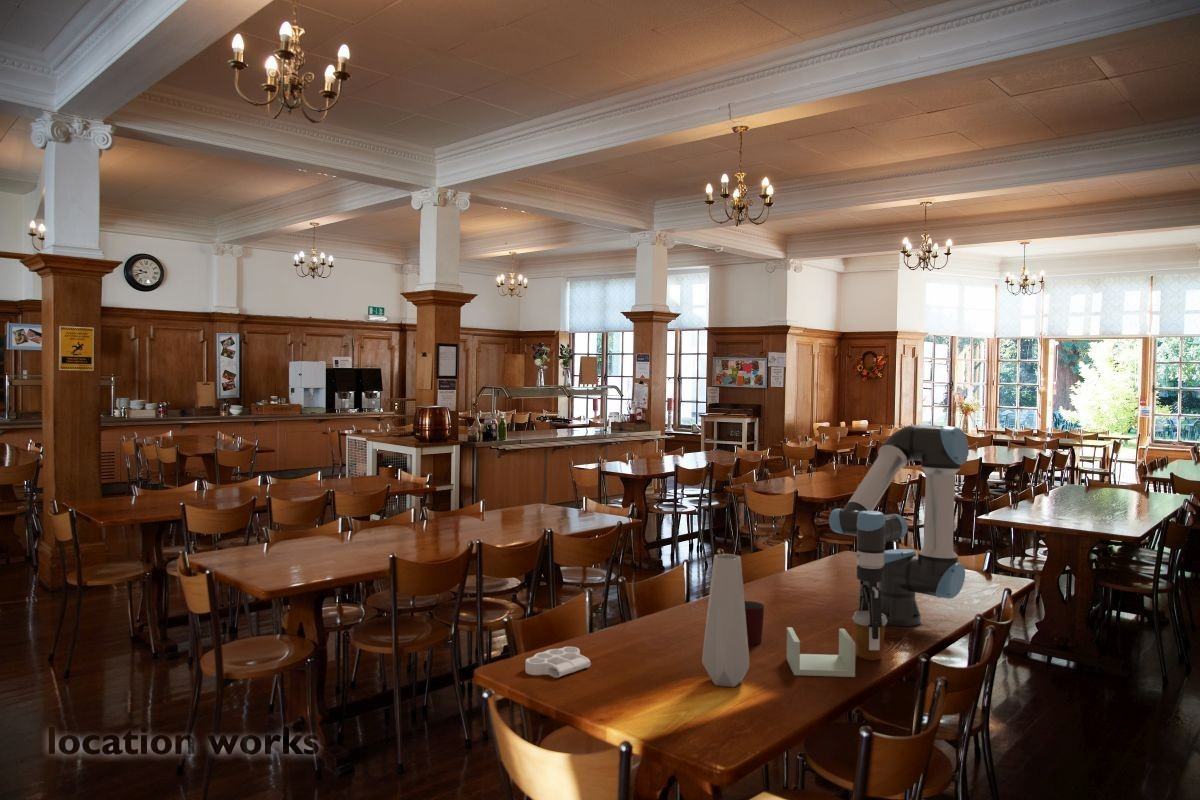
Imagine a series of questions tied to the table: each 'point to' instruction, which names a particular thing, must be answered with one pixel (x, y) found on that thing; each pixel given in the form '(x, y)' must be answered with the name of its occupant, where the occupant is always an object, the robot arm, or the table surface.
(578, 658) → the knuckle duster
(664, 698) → the table surface
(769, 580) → the table surface
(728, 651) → the vase
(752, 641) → the mug
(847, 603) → the table surface
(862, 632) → the disposable coffee cup
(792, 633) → the holder
